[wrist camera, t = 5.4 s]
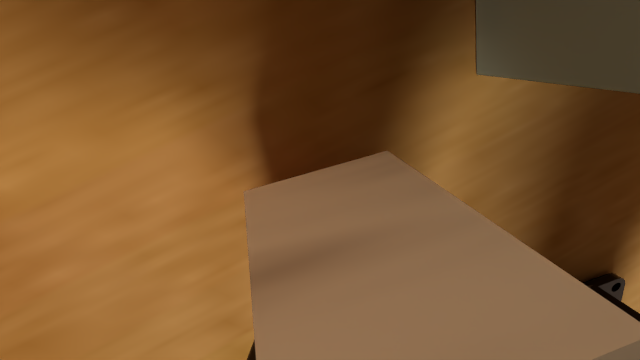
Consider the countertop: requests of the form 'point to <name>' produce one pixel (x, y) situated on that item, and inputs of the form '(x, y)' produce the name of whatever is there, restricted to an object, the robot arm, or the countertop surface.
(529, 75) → the grey tray
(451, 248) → the block
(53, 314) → the countertop surface
